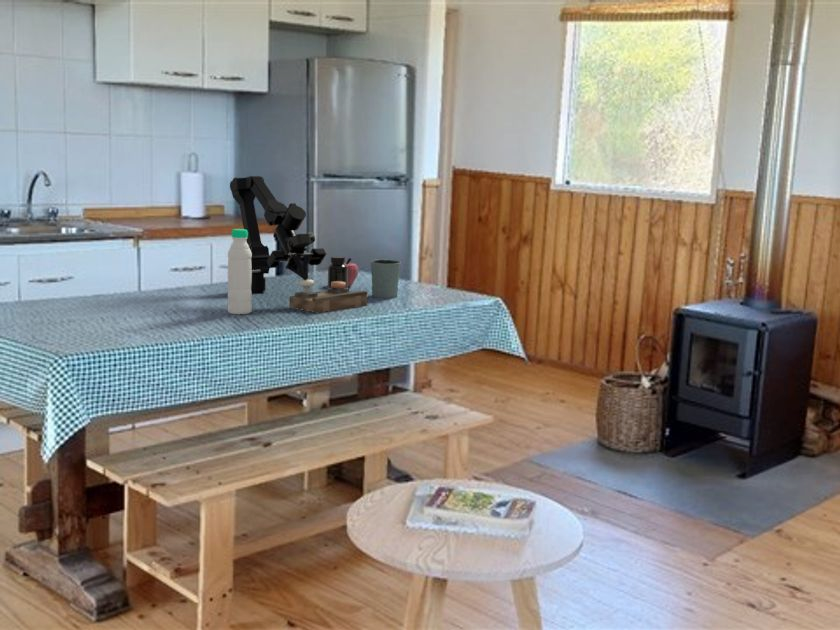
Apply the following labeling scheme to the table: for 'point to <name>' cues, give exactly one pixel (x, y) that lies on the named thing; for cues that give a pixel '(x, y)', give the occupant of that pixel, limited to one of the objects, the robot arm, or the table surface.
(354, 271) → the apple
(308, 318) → the table surface
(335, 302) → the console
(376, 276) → the grey green plant pot
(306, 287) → the button cream
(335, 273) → the supplement bottle
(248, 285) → the water bottle
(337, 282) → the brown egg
